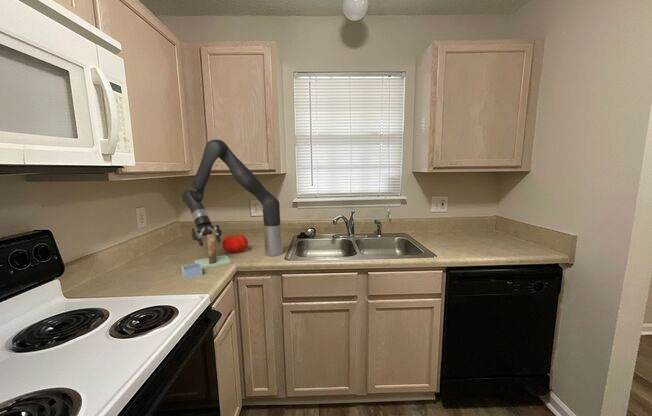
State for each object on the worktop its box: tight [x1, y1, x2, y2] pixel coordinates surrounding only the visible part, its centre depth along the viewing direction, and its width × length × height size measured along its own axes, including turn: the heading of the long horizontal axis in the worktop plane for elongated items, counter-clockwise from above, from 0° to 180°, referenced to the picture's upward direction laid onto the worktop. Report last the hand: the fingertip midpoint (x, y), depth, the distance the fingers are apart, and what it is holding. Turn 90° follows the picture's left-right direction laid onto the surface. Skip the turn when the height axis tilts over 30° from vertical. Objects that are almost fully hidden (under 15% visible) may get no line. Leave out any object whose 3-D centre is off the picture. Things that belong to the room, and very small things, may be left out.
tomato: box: [221, 233, 249, 254], centre depth 165 cm, size 14×16×10 cm
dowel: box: [206, 234, 217, 264], centre depth 141 cm, size 4×4×15 cm
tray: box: [193, 254, 232, 270], centre depth 142 cm, size 16×12×2 cm
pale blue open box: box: [180, 263, 204, 280], centre depth 127 cm, size 8×8×4 cm
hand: (210, 243), depth 141 cm, fingers open, 8 cm apart
